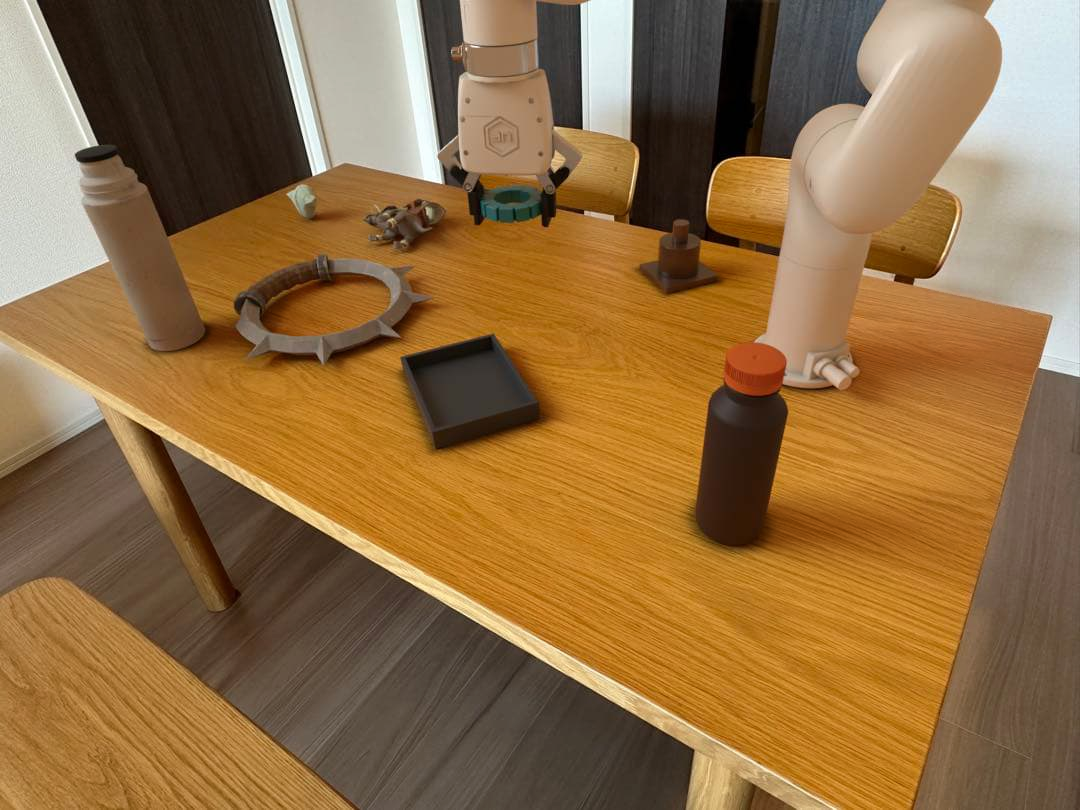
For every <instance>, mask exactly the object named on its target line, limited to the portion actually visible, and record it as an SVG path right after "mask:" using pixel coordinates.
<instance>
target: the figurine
mask: <svg viewBox="0 0 1080 810" xmlns="http://www.w3.org/2000/svg"><path fill="white" fill-rule="evenodd" d="M370 206H371V207H370V212H371V213H370V214H367V215H365V216H364V217H363V219H362V221H364V222H365V223H367V224H368V225H369V226H370V227H373V228H378V229H380V230H382V233H385V234H384V235H381V234H376V235H373V234H372V233H368V236H367V237H368V238H367V239H368V240H369V243H371V242H377V243H382V242H383V241H390V240H392V239H395V238H397V237H398V236H400V237H403V239H401V241H400V242H399V241H396V240H395V241H394V240H393V246H392V247H394V250H399V249H403V250H405V249H408V247H409V245H410V244H411V243H413V241H415V240H416V239H417V238H418V237H419V235H420V234H421V233H423V234H425V233H427V232H428V231H430V230H433V229H434V227H432V226H434V225H438V224H439V223H440V222H441V221H443V219H444V217H445V215H446V213H447V210H446V209H445V208H444V206H442V205H441V204H440V203H437V202H435V201H431V200H428V199H421V198H416V199H415V200H410V201H409V202H405V203H402V204H401V207H402V209H399V207H397V206H396V205H392V204H389V205H386V206H385V207H383V209H381V208H380V205H377V204H374V203H372V204H370ZM373 206H374V207H375V208H376V209H377V211H376V212H374V213H373V210H372V209H373Z"/></svg>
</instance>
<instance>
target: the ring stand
mask: <svg viewBox="0 0 1080 810" xmlns="http://www.w3.org/2000/svg"><path fill="white" fill-rule="evenodd" d="M689 231H690V221H689V220H687V219H681V218H680V219H679V218H678V219H675V220H674V221H673V223H672V232H669V233H666V234H663V235H662V236H661V237H660V238H659V239H658V255H657V259H656V260H652V261H648V262H644V263H640V264H639V271H640V273H643V274H644V276H646V277H647V278H648V279H649V280H650V281H651V282H652V283H653V284H655V285H656V286H657V287H658V288H660V290H661V291H663V292H664V293H665V294H666V295H668V294H671V293H675V292H679V291H684V290H687V289H688V290H689V289H692V288H696V287H699V286H703V285H706V284H711V283H715V282H717V281H718V275H717V274H716V273H715V272H714V271H713V270H711V269H710V268H709V267H707V266H706V265H705V264H703V263H702V262H700V256H701V255H700V254H701V245H702V240H701V238H700V237H699V236H698V235H696V234H694V233H689Z"/></svg>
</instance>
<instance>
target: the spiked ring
mask: <svg viewBox="0 0 1080 810" xmlns="http://www.w3.org/2000/svg"><path fill="white" fill-rule="evenodd" d="M415 268H416V265H406V266H394V267H388V266H387V265H383V264H381V263H378V262H375V261H371V260H367V259H360V258H359V259H358V258H352V257H351V258H329V257H328V255H327V253H321V254H317V255H316V258H315V259H309V260H306V261H301V262H300V261H299V262H295V263H292V264H290V265H289V266H285V267H281V268H278V269H276V270H275V271H274V272H272V273H270V274H267V275H265V276H262V277H261V278H260V280H258V281H256V282H254V283H253V284H251V285H250V286H249V287H248V288H247V289H246V290H243V291H241V292H240V291H239V292H238V293H237V295H236V296H235V298H234V300H233V310H234V311H235V313H236V314H237V315H238V316H239V319H238V320H237V322H236V323H235V325H234V327H235V329H236V330H237V331H238V333H240V335H241V336H242V337H244V338H245V339H246V340H247V341H249V342H251V343H252V344H254V345H256V346H254V348H253V349H252V351H251V352H250V353H249V354H248V355H247V356H246V358H245V359H244V360H243V361H244V362H246V361H249V360H251V359H254V358H257V357H260V356H264V355H266V354H269V353H272V352H277V353H282V354H288V355H294V356H313V355H314V356H315V355H317V357H318V359H319V361H320V362H321V364H322V366H323V367H325V365H326V363H327V361H328V360H329V357H330V356H331V355H332V354H335V353H340V352H344V351H348V350H351V349H354V348H358V347H360V346H363V345H366V344H368V343H369V342H372V341H373V340H376V339H378V338H380V337H385V338H400V339H402V336H400V334H398V333H397V332H396V331H395V330H394V329H393V328H394V326H395V325H396V324H398V323H399V322H400V321H401V320H402V319H403V317H404V316H405V315H406V313H407V312H408V311H409V310H410V308H411V306H414V305H418V304H421V303H425V302H427V301H431V300H434V299H437V297H436V296H432V295H431V296H430V295H427V294H421V293H417V292H413V290H412V286H411V284H410V283H409V281H408V280H407V279H406V278H405V277H404V276H405V275H406V274H408V273H409V272H411V271H412V270H413V269H415ZM349 276H350V277H351V276H353V277H361V278H362V277H363V278H370V279H373V280H377V281H380V282H382V283H384V284H385V286H387V288H388V289H389V292H390V303H389V306H388V307H387V308H386V310H385V311H383V312H381V314H379V315H378V316H376V317H375V318H373V319H370V320H369V321H366V322H364V323H362V324H360V325H358V326H355V327H352V328H349V329H344V330H342V331H338V332H333V333H327V334H320V335H301V336H300V335H299V336H293V335H287V334H286V335H285V334H281V333H274V332H271V331H270V330H268V329H267V328H266V327H265V326H264V325H263V323H262V321H261V319H260V318H261V317H262V316H263V315H264V314H265V312H266V308H267V307H266V306H267V304H268V303H269V302H270V301H271V300H272V298H276V297H277V296H279V295H280V294H281V293H283V292H284V291H290V290H291V289H292V288H294V287H296V286H298V285H300V286H302V285H304V284H307V283H309V282H311V281H319V280H320V281H321V283H326V282H327V283H329V282H331V281H332V280H333V279H332V277H349Z"/></svg>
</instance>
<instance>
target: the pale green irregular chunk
mask: <svg viewBox="0 0 1080 810" xmlns="http://www.w3.org/2000/svg"><path fill="white" fill-rule="evenodd" d="M286 195H287V197H288V198H289V199H290V201H292V203H293V205H294V206H295V208H296V209H297V211H298V213H299V215H301V216H302V217H303V218H305V219H307V220H310V219H313V218H314V217H315V214H316V211H317V205H318V199H317V195H316V192H315V190H314V189H313V188H312V187H311V186H309V185H308V184H306V183H305V184H299V185H297V186H296V187H295V189H293V190H290V191H288V192H287V193H286Z"/></svg>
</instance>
